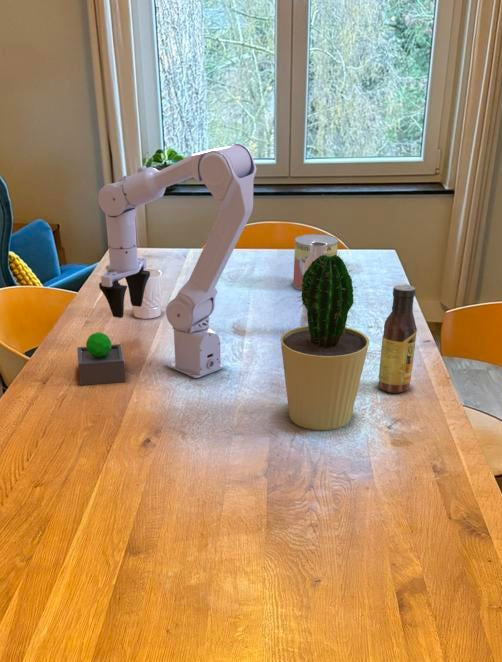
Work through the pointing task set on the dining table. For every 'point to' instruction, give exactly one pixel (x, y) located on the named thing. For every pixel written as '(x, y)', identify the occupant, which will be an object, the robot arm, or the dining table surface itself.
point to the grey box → (101, 366)
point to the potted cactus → (324, 349)
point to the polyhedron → (98, 345)
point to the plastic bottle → (315, 251)
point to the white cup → (150, 297)
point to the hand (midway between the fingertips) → (127, 311)
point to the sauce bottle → (398, 342)
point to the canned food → (303, 253)
